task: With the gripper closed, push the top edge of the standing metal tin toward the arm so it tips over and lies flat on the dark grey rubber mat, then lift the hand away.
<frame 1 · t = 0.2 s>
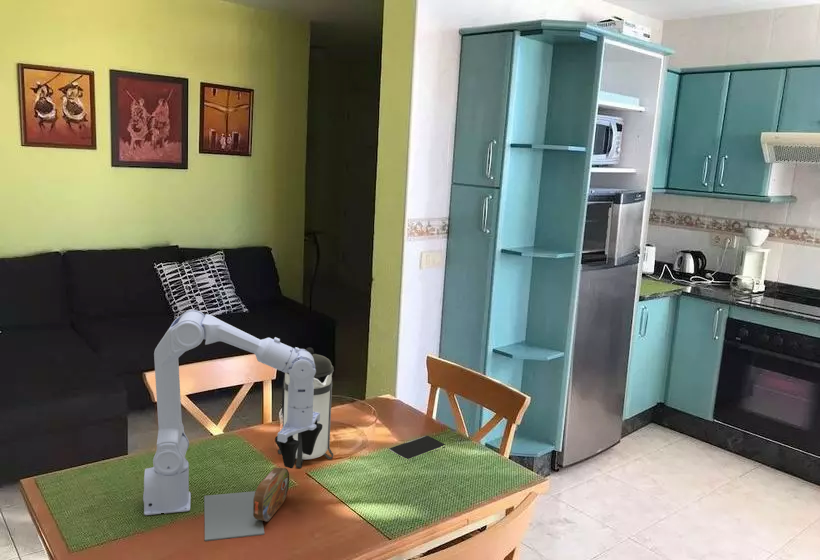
hand: (298, 460, 151), 10 cm above the table, tool pointing down, fingers open, 7 cm apart
tin: (269, 511, 147), on the table, touching mat
smartphone: (417, 451, 183), on the table
mat: (233, 514, 144), on the table
coffee press: (301, 455, 175), on the table
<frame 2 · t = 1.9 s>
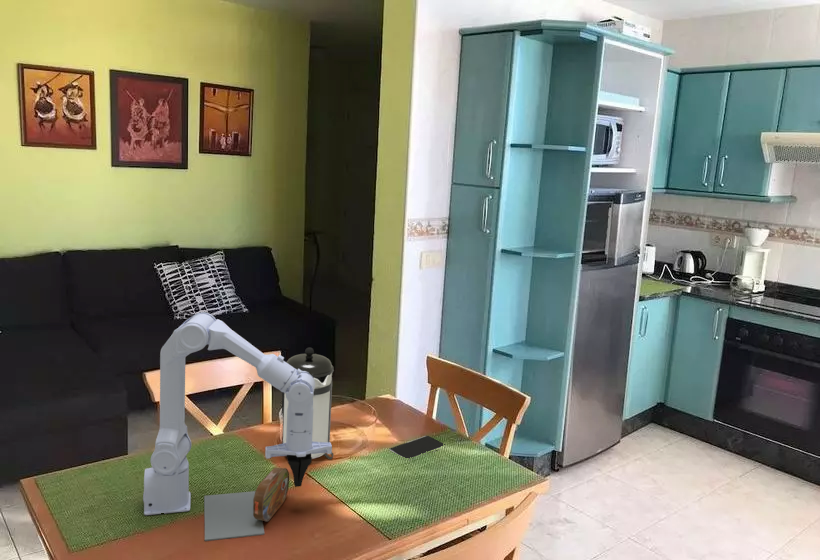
hand: (297, 484, 147), 6 cm above the table, tool pointing down, fingers closed
nothing on the table moved.
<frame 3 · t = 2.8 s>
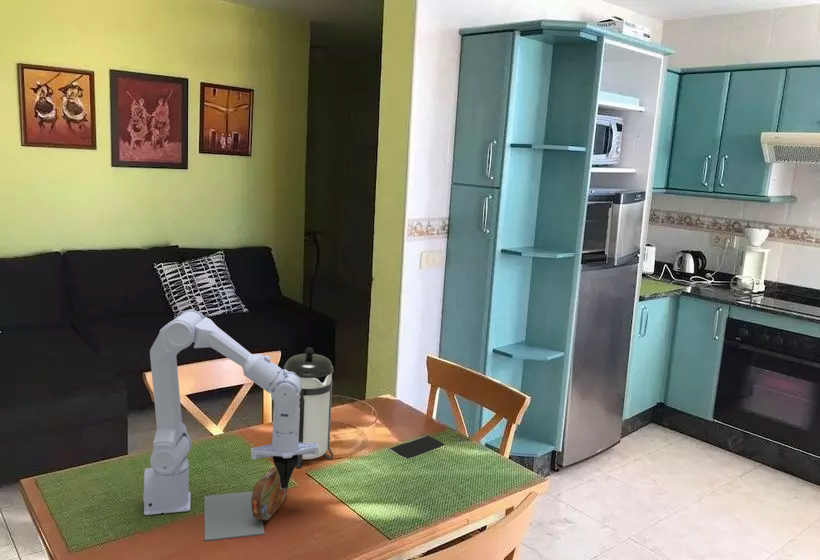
hand: (284, 485, 147), 6 cm above the table, tool pointing down, fingers closed
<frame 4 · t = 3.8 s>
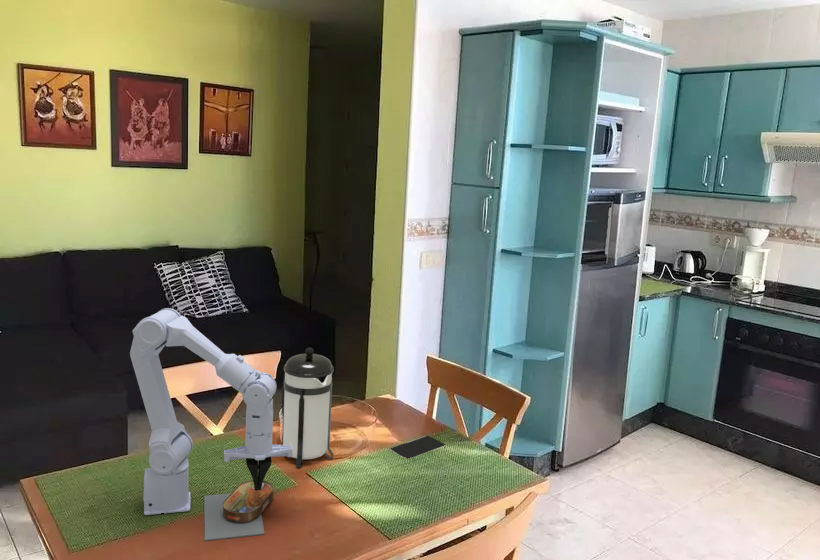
hand: (257, 488, 145), 6 cm above the table, tool pointing down, fingers closed
tin: (266, 505, 147), point 1 cm above the table, touching mat
everything else where it was.
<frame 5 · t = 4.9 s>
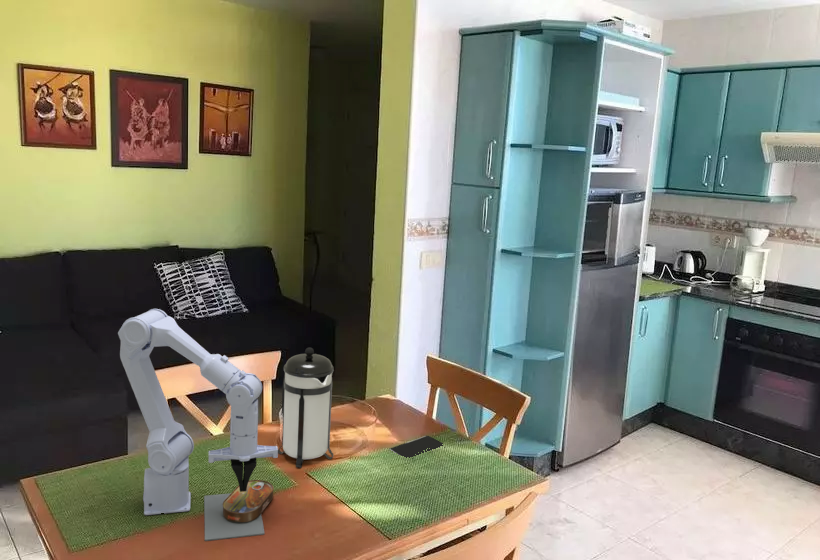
hand: (242, 489, 144), 6 cm above the table, tool pointing down, fingers closed
nothing on the table moved.
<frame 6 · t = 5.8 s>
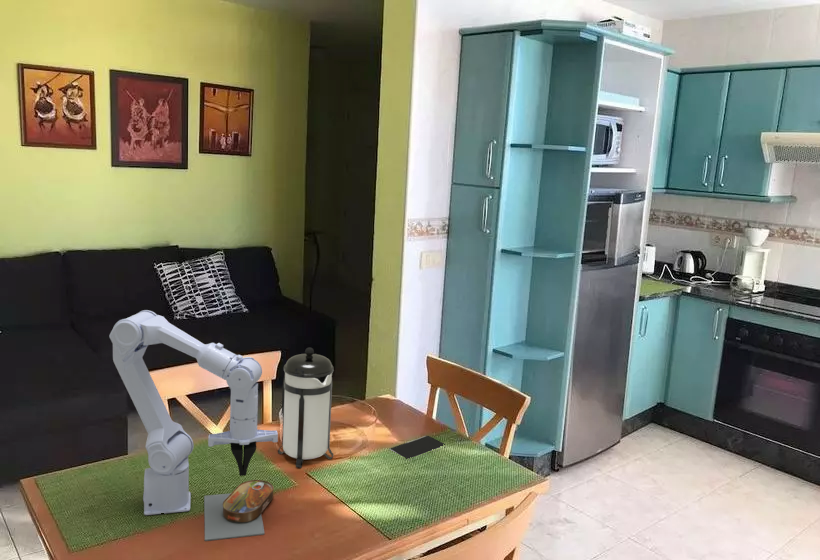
hand: (242, 473, 144), 9 cm above the table, tool pointing down, fingers closed
nothing on the table moved.
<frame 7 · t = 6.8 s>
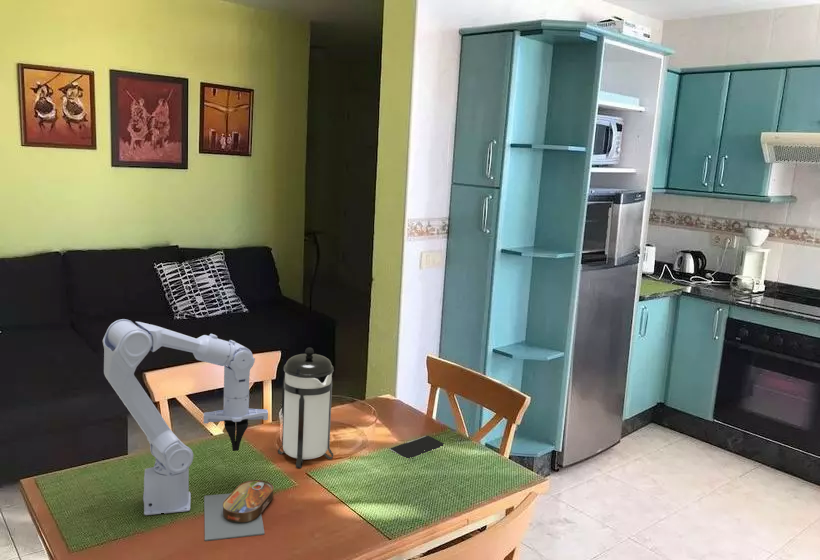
hand: (235, 449, 155), 9 cm above the table, tool pointing down, fingers closed
nothing on the table moved.
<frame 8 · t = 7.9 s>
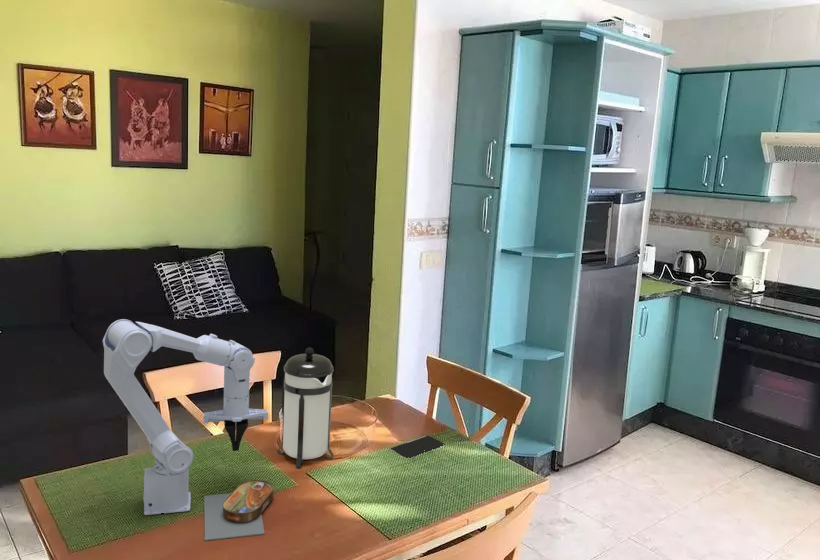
hand: (235, 449, 155), 9 cm above the table, tool pointing down, fingers closed
nothing on the table moved.
at the end: tin tilted 86°; tin touching mat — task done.
